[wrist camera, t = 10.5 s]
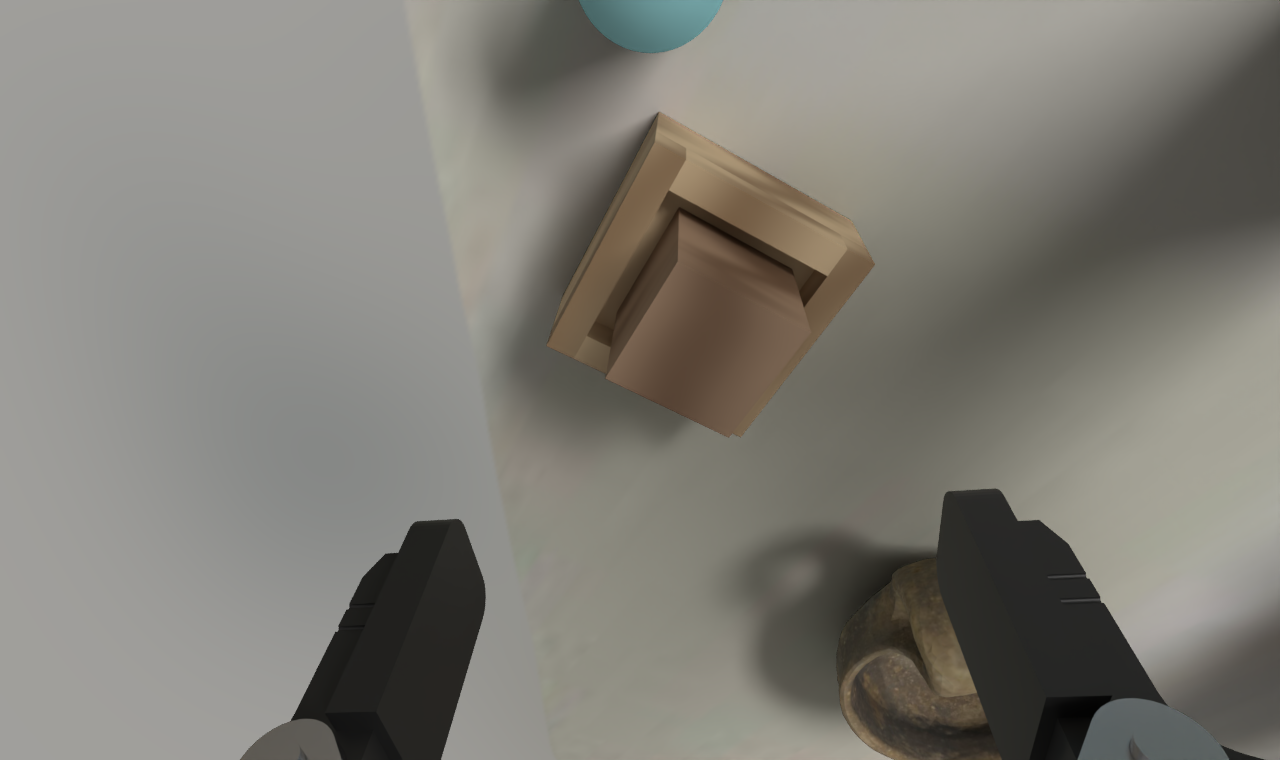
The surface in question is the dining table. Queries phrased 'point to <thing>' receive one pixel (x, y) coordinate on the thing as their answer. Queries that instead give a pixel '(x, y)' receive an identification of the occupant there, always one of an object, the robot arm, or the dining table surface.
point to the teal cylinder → (650, 21)
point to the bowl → (910, 675)
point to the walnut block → (706, 325)
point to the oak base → (726, 198)
